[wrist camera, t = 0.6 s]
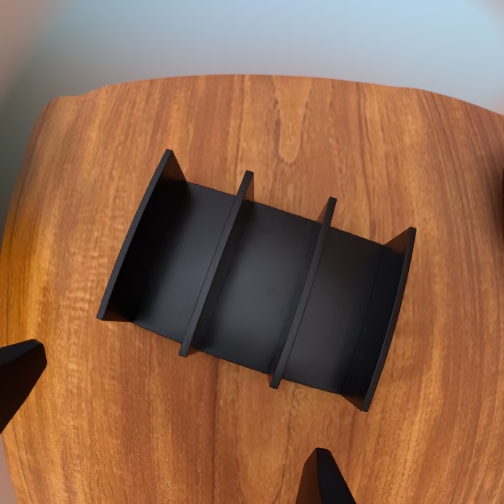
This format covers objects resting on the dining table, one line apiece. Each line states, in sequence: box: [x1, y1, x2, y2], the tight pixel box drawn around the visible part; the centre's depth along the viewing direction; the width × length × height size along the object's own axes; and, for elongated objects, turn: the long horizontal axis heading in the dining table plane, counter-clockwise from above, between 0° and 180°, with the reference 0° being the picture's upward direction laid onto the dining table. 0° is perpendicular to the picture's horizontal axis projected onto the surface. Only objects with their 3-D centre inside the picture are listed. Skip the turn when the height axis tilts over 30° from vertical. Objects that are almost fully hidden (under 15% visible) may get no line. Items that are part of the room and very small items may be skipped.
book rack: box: [96, 149, 416, 412], centre depth 21 cm, size 18×12×6 cm
